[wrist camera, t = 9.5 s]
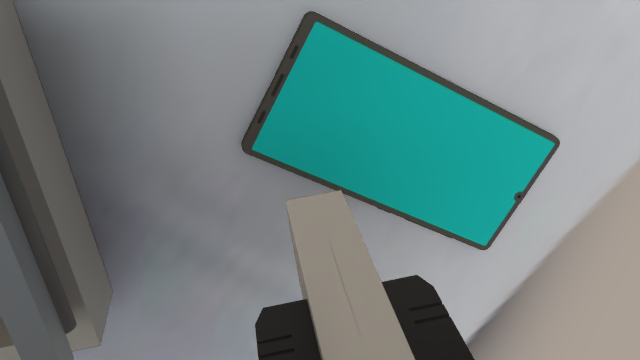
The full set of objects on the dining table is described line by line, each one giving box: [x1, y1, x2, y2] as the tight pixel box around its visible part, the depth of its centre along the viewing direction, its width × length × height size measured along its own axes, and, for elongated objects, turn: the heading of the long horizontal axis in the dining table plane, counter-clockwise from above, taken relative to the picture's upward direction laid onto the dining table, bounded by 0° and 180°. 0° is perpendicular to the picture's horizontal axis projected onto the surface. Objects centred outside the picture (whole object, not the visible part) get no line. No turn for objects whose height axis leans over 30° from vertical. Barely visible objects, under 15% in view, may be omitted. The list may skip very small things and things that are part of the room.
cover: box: [0, 127, 77, 360], centre depth 19 cm, size 10×14×1 cm
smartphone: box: [242, 11, 560, 250], centre depth 31 cm, size 7×1×15 cm
